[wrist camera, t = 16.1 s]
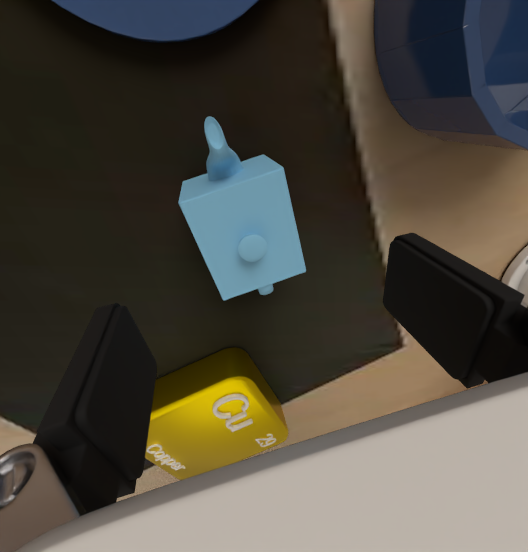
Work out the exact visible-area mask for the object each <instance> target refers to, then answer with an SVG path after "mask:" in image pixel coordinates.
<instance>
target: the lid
mask: <svg viewBox="0 0 528 552" xmlns="http://www.w3.org/2000/svg"><path fill="white" fill-rule="evenodd" d="M51 1H53V2H54V3H56V4H57V5H58V6H60V7H61V8H63V9H64V10H66V11H68V12H69V13H71V14H73V15H75V16H77V17H78V18H80V19H82V20H84V21H86V22H88V23H89V24H91V25H94V26H96V27H99V28H101V29H104V30H106V31H108V32H111V33H113V34H116V35H120V36H123V37H127V38H131V39H135V40H139V41H147V42H157V43H172V42H185V41H189V40H194V39H198V38H202V37H206V36H208V35H210V34H212V33H215V32H217V31H219V30H222V29H224V28H226V27H227V26H229V25H230V24H232V23H233V22H235V21H236V20H238V19H239V18H241V17H242V16H243V15H244V14H246V13H247V12H248V11H249V10H250V9H251V8H252V7H253V6H254V5H256V4H257V3H258V2H259V1H260V0H51Z"/></svg>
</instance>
